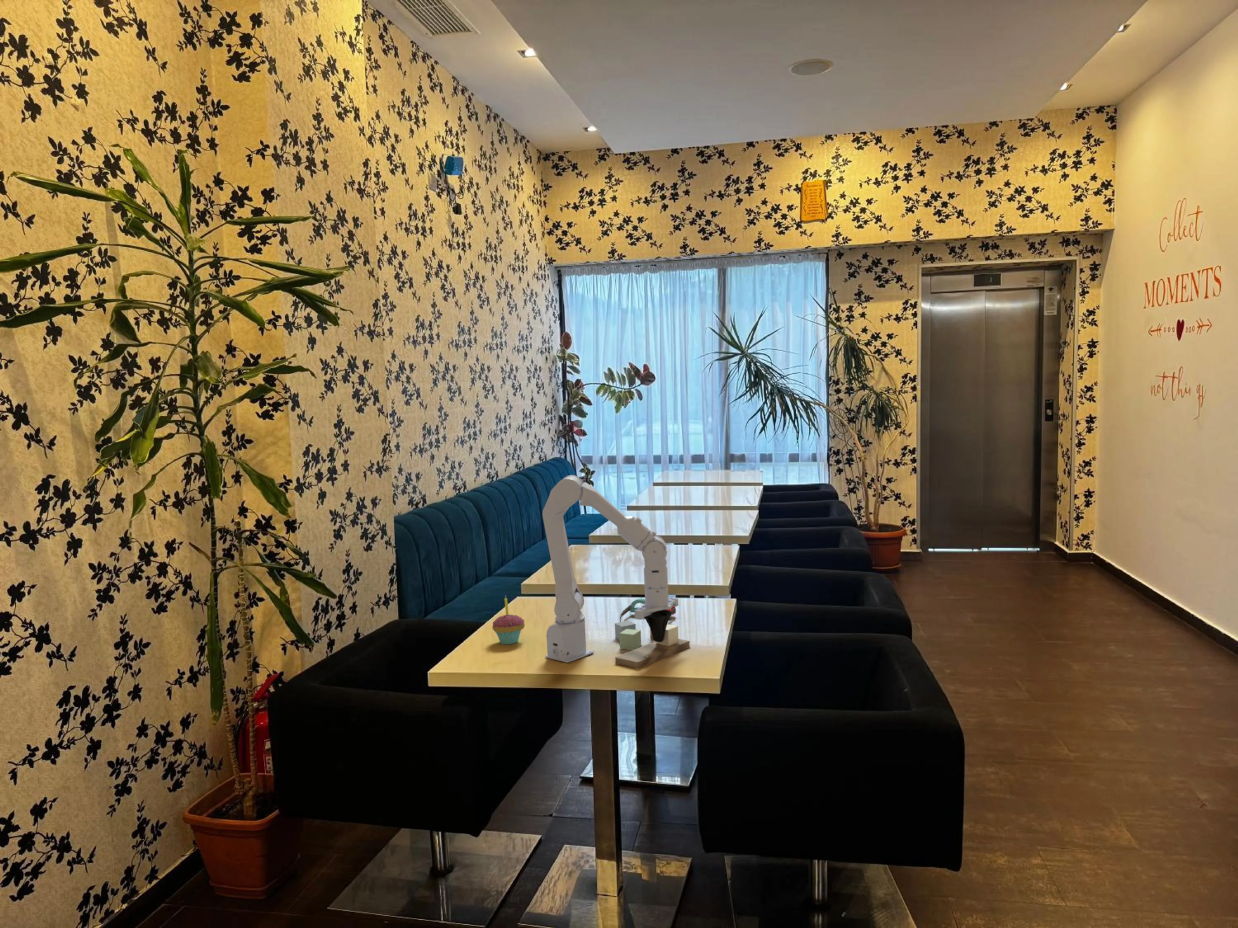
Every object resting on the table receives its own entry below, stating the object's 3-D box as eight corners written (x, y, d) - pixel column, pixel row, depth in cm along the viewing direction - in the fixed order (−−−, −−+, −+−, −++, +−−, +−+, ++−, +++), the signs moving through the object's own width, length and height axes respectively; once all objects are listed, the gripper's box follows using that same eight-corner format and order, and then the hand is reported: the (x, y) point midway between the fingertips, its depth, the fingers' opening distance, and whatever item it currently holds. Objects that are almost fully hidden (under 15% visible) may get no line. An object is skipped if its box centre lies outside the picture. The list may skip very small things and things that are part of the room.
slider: (668, 646, 207) (668, 630, 207) (655, 643, 210) (655, 627, 209) (678, 641, 210) (678, 626, 210) (665, 639, 213) (665, 623, 212)
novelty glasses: (677, 616, 241) (677, 599, 241) (661, 631, 227) (660, 613, 227) (632, 614, 246) (631, 597, 246) (613, 628, 232) (612, 610, 232)
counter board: (638, 668, 196) (637, 661, 196) (615, 663, 201) (615, 656, 200) (689, 646, 211) (689, 640, 211) (667, 642, 215) (667, 635, 215)
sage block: (634, 650, 210) (633, 634, 210) (620, 648, 212) (619, 633, 212) (641, 645, 214) (640, 630, 214) (627, 644, 216) (626, 628, 215)
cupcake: (490, 639, 225) (487, 595, 224) (521, 635, 228) (519, 591, 227) (497, 648, 217) (494, 602, 216) (529, 643, 220) (527, 598, 219)
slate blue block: (622, 641, 218) (621, 626, 218) (615, 638, 222) (614, 623, 221) (636, 638, 220) (635, 623, 220) (628, 635, 224) (628, 620, 223)
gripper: (650, 594, 198) (652, 651, 199) (687, 582, 209) (689, 636, 210) (627, 590, 203) (629, 646, 204) (664, 579, 213) (667, 631, 214)
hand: (658, 640), depth 207 cm, fingers closed
